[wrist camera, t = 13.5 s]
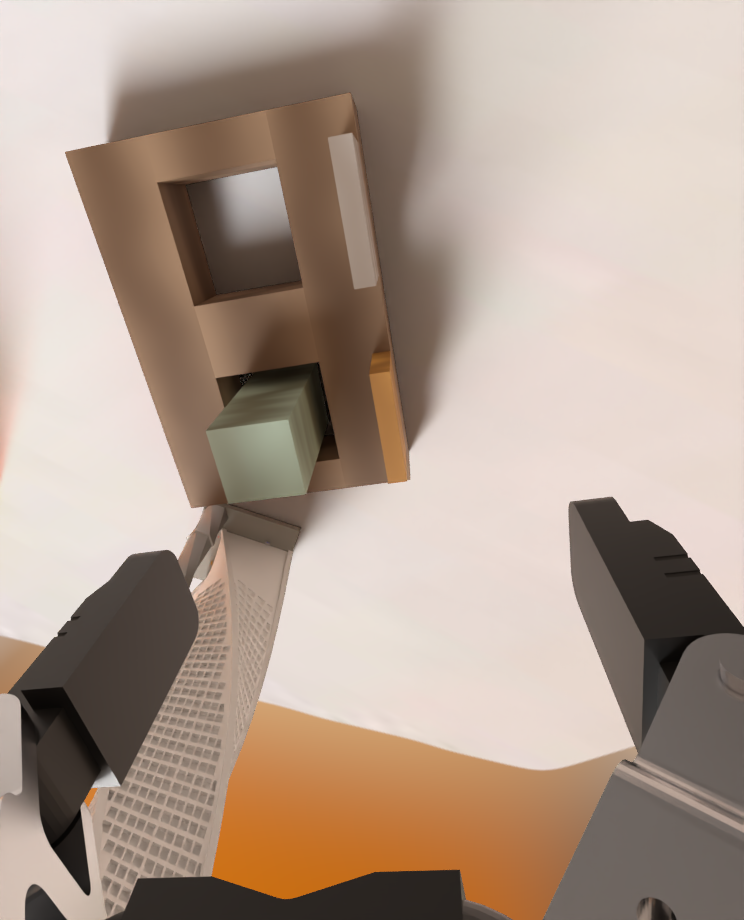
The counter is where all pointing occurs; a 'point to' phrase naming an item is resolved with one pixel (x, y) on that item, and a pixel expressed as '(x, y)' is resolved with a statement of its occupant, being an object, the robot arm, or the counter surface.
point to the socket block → (260, 309)
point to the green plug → (270, 434)
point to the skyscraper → (198, 708)
